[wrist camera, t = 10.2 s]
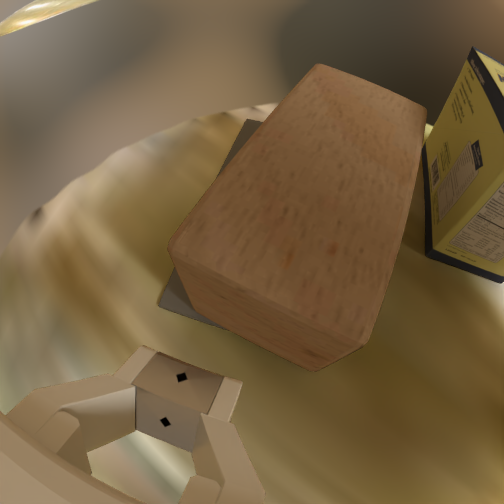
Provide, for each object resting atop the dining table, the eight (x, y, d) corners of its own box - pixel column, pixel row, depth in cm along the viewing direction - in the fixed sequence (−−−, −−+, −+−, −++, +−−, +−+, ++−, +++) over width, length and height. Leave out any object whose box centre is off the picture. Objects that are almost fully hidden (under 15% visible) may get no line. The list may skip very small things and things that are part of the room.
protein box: (485, 177, 32) (544, 90, 18) (501, 286, 25) (604, 201, 11) (419, 147, 33) (470, 43, 19) (423, 258, 26) (526, 139, 12)
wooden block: (368, 349, 12) (429, 107, 20) (160, 244, 14) (316, 60, 22) (315, 374, 21) (390, 183, 29) (191, 310, 23) (300, 142, 31)
